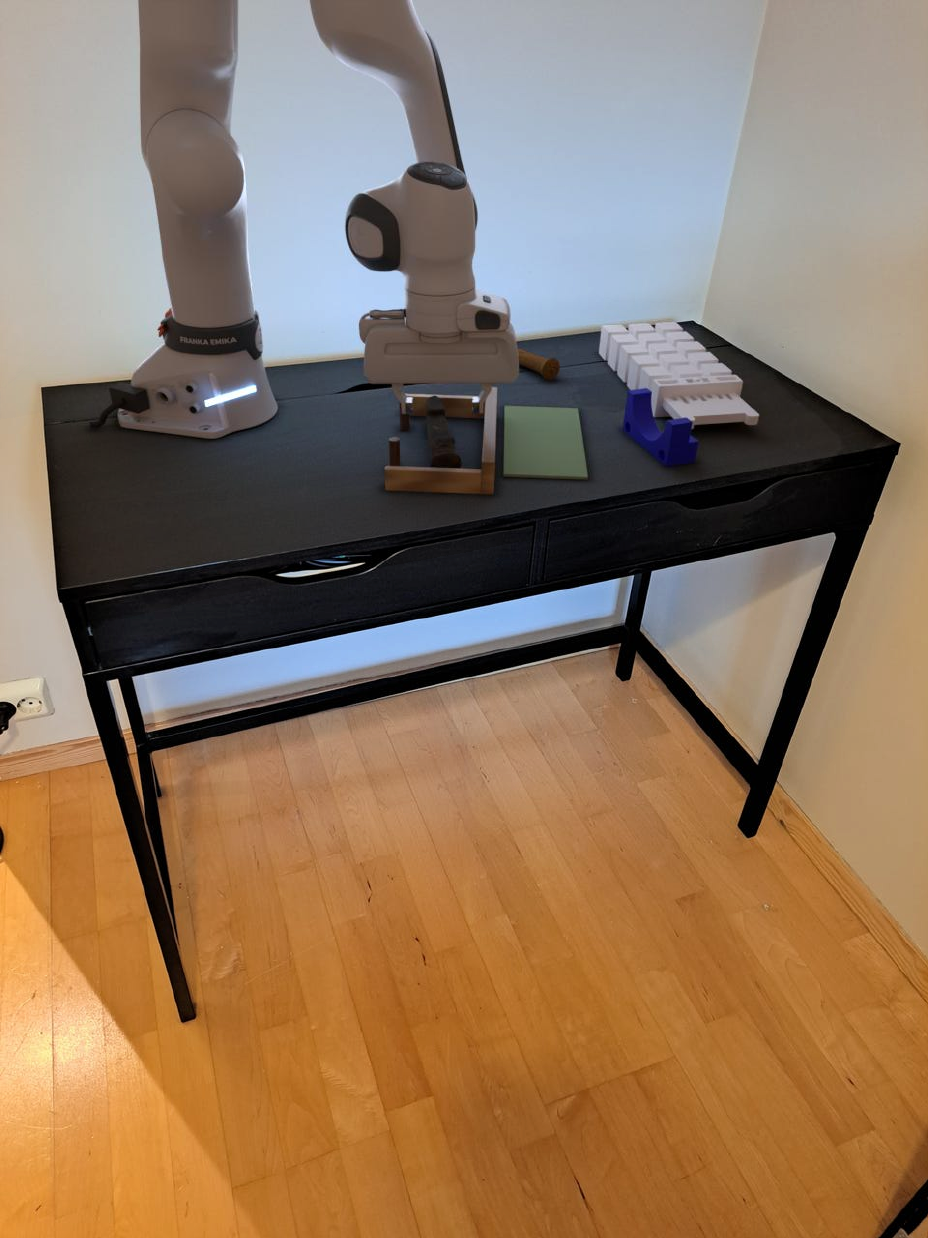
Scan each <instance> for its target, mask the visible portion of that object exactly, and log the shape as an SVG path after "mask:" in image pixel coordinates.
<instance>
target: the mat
mask: <svg viewBox="0 0 928 1238" xmlns="http://www.w3.org/2000/svg"><path fill="white" fill-rule="evenodd" d="M503 412H504V418H503V423H504V424H503V470H502V471H503V473H502V474H503V475H502V476H503V477H506V478H508V477H510V478H532V479H534V478H536V479H559V480H560V479H561V480H562V479H563V480H565V479H566V480H585V481H587V480H588V479H589V476H588V469H587V461H586V455H585V454H586V453H585V448H584V439H583V434H582V433H583V432H582V427H581V419H580V413H579V408H578V407H555V406H554V407H551V406H522V405H504V411H503Z"/></svg>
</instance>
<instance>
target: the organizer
mask: <svg viewBox="0 0 928 1238" xmlns="http://www.w3.org/2000/svg"><path fill="white" fill-rule="evenodd" d="M600 329H601V330H600V339H599V348H598V354H599V356H600V357H601V358H602V359H603V360H604V361H605V362H606V361H607V365H608V366H609V367H610V368H611V370H613V372H616V375H617V376H618V378H619V379H620V380H621V381H622V382H623V383H626V386H627V388H628V389H629V390H635V389H643V388H647V389H649V390H650V391H651V392H652V396H651V405H652V413H653V417H654V418H664V417H666V418H667V417H671V418H672V420H673V419H679V418H686V417H687V418H688V419H689V420H691V421H692V422H693V423H692V429H691V430H693V429H694V428H695V426H698V425H699V426H700V425H711V424H712V425H713V424H728V423H742V422H743V423H744V424H745V425H746V426H747V425H748V426H756V425H758V423H759V417H760V413H758V412H757V411H756V410H755V409H754V408H752V406H750V405H749V404H748V402H746V401H745V400H744V399H743V398H742V397H741V394H742V390H743V384H744V380H742V379H741V378H740V377H739V375H737V374H732V372H733V371H732V370H731V369H730V368H729V367H727V365H725V364H724V363H723V362H719V358H717V357H716V356H715V355H714V354H713V353H712V352H711V351H707V348H706V347H705V346H703V344H701V343H700V342H699V341H696V340H695V338H694V336H692V335H691V334H690V333H689V332H688V331H685V330H684V328H683V327H682V326H681V325H680V324H678V323H677V321H666V322H665V321H664V322H655V326H654V327H653V326H652V324H650V323H649V322H644V323H642V322H641V323H629V324H628V328H626V327H625V326H624V325H623V324H602V325H601V328H600Z"/></svg>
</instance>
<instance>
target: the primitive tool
mask: <svg viewBox="0 0 928 1238" xmlns="http://www.w3.org/2000/svg"><path fill="white" fill-rule="evenodd" d="M517 349H518V359H519V366H521V367H524V368H527V369H529V370H531V371H534V372H535V373H538V374H540V375H541V376H542V378H543V379H544V380H547V381H552V380H555V379H556V378H557V376H558V374H559V372H560V369H561V366H560V362H559V360H558V359H557V358H556V357H550V358H547V357H544V356H540V355H537V354H534V353H533V352H530V351H528V350H524V349H522V348H519V347H517Z"/></svg>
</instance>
